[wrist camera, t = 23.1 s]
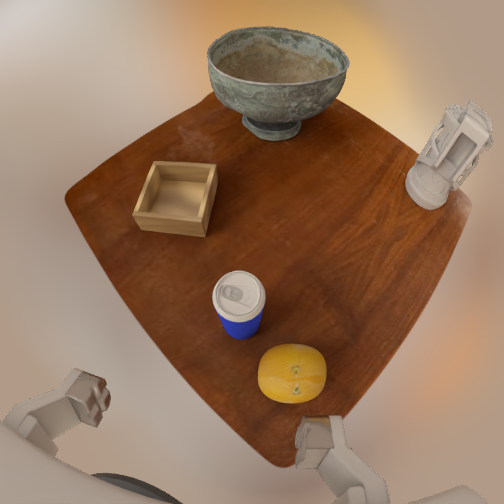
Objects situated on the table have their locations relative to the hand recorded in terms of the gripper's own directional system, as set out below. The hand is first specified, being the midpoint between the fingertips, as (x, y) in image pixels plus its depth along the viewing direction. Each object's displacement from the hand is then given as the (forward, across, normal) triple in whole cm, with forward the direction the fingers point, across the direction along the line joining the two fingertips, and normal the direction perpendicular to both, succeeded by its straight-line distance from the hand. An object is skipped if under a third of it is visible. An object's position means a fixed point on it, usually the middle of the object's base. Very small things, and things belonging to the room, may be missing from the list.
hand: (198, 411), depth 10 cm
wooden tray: (+40, +14, +1) cm, 43 cm away
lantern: (+48, -34, -6) cm, 60 cm away
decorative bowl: (+58, -1, -16) cm, 60 cm away
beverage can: (+27, 0, +14) cm, 31 cm away
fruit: (+23, -7, +19) cm, 31 cm away
